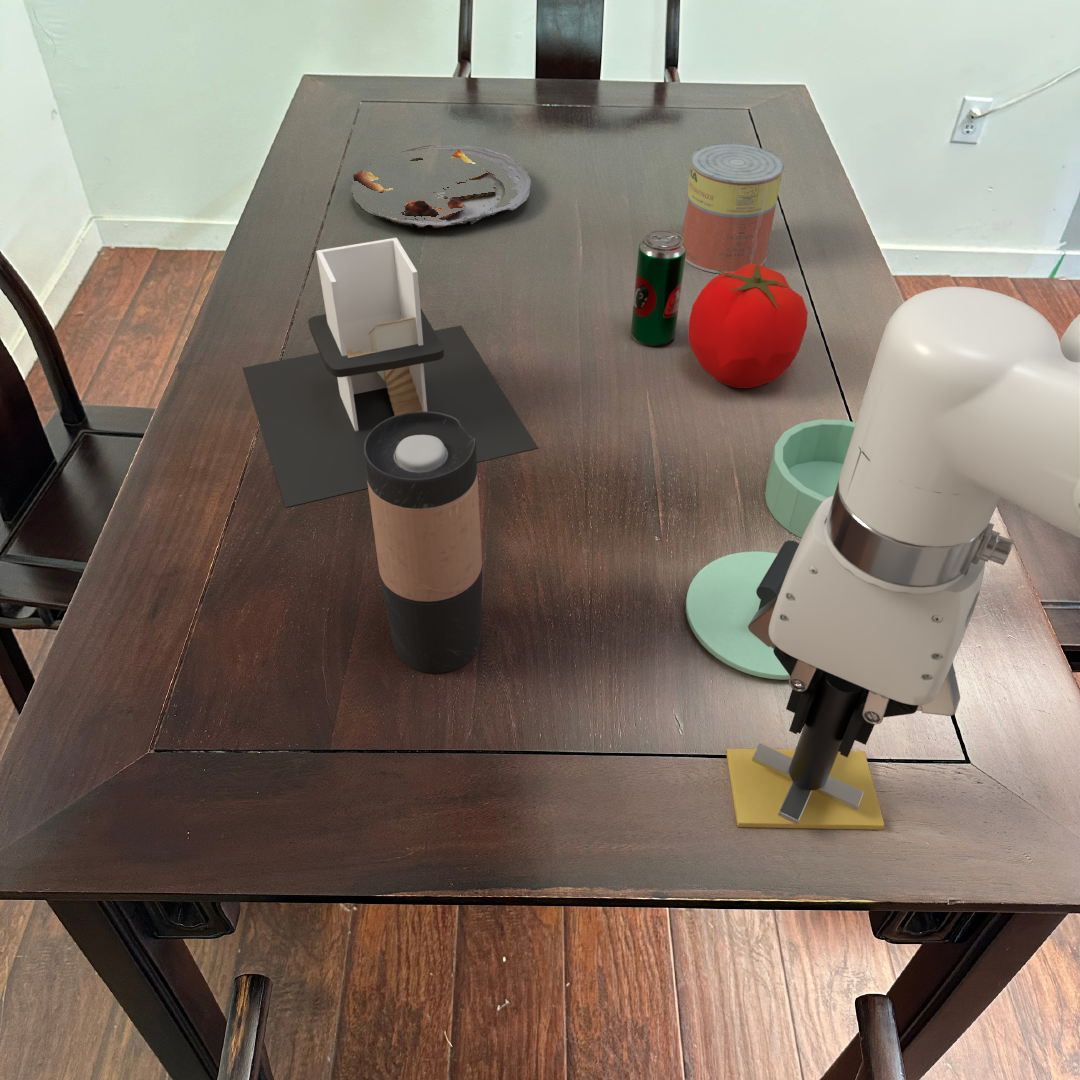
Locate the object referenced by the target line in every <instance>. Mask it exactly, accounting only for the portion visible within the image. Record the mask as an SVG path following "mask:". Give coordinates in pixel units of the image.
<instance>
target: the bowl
mask: <svg viewBox="0 0 1080 1080" xmlns="http://www.w3.org/2000/svg"><path fill="white" fill-rule="evenodd" d="M855 424H856V421H851V420H846V419H832V418H831V419H826V418H824V419H823V418H820V419H813V420H809V421H804V422H801V423H797V424H796V425H794V426H792V427H790V428H789V429H786V430H785V431H783V433H782V434H781V435H780V437H779V438H778V440H777V441H776V443H775V444H774V446H773V447H774V448H773V452H772V456H771V460H770V464H769V468H768V472H767V476H766V480H765V489H764V499H765V503H766V506H767V508H768V511H769V512H770V513H771V516H773V518H774V520H776V522H778V523H779V524H780V525H781V526H782V527H783V528H784V529H786V531H788V532H790V533H792V534H793V535H794V536H796V537H798V538H800V539H802V537H803V534H804V532H805V530H806V528H807V526H808V524H809V523H810V521H811V519H812V517H813V515H814V514H815V512H816V510H817V509H818V507H819V506H820V504H821V503H822V502H823V501H824V500H825V499H827V498H829V497H831V496H834V493H835V490H836V487H837V483H838V480H839V477H840V474H841V471H842V467H843V464H844V460H845V457H846V454H847V451H848V448H849V445H850V441H851V438H852V434H853V431H854V427H855Z"/></svg>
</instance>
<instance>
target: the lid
mask: <svg viewBox="0 0 1080 1080" xmlns="http://www.w3.org/2000/svg"><path fill="white" fill-rule="evenodd" d="M799 543H800V542H797V541H796V540H786V541H784V543H783V544H782V545H781V547H780V549H779V551H778V552H777V553H776V552H769V551H758V550H757V551H755V550H754V551H742V552H736V553H731V554H727V555H724V556H721V557H719V558H716V559H714V560H712V561H710V563H708V564H707V565H705V566H703V568H701V569H700V570H699V571H698V572H697V574H696V575H695V576H694V577H693V579H692V580H691V583H690V584H689V587H688V589H687V592H686V599H685V614H686V619H687V622H688V624H689V628H690V629H691V631H692V633H693V634H694V636H695V638H696V639H697V640H698V642H699V643H700V644H701V646H703V647H704V648H705V649H706V650H707V652H708V653H710V654H711V655H713V656H714V657H715V658H716V659H717V660H719V661H720V662H722V663H723V664H725V665H727V666H729V667H731V668H733V669H735V670H737V671H740V672H742V673H744V674H748V675H752V676H755V677H758V678H765V679H770V680H783V681H784V680H789V679H790V675H789V674H788V672H787V671H786V670H785V668H784V667H783V666H782V664H781V663H780V661H779V660H778V659H777V657H776V656H775V654H774V651H773V650H774V649H773V648H772V647H768V646H767V645H766V644H764V643H763V642H762V641H761V640H760V639H758V638H757V637H756V636H755V635H754V634H752V633H751V632H750V631H749V629H748V625H749V624H750V622H751V620H752V618H753V617H754V615H755V613H756V612H757V611H758V610H760V609H761V608H762V607H764V606H765V605H766V604H768V603H769V602H770V601H772V600H773V599H774V598H776V597H777V596H778V595H779V593H780V590H781V587H782V585H783V582H784V579H785V577H786V574H787V572H788V569H789V567H790V564H791V562H792V559H793V557H794V555H795V552H796V550H797V548H798V546H799Z"/></svg>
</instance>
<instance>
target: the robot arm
mask: <svg viewBox="0 0 1080 1080" xmlns="http://www.w3.org/2000/svg"><path fill="white" fill-rule="evenodd" d="M875 355H876V356H875V357H874V358H875V359H874V361H873V365H872V368H871V372H870V374H869V378H868V383H867V384H866V387H865V388H866V389H865V392H864V394H863V398H862V400H861V405H860V408H859V410H858V415H857V418H856V421H855V422H856V424H855V427H854V431H853V434H852V438H851V441H850V445H849V448H848V451H847V454H846V457H845V460H844V464H843V467H842V471H841V474H840V477H839V480H838V483H837V487H836V490H835V493H834V496H831V497H829V498H827V499H825V500H824V501H823V502H822V503H821V504H820V506H819V507H818V509H817V510H816V512H815V514H814V515H813V517H812V519H811V521H810V523H809V524H808V526H807V528H806V530H805V532H804V534H803V537H802V538H800V541H799V542H798V543H799V546H798V548H797V550H796V552H795V555H794V557H793V559H792V562H791V564H790V567H789V569H788V572H787V574H786V577H785V579H784V582H783V585H782V587H781V590H780V593H779V595H778V596H777V597H776V598H774V599H773V600H772V601H770V602H769V603H768V604H766V605H765V606H764V607H762V608H761V609H760V610H758V611H757V612H756V613H755V615H754V617H753V618H752V620H751V622H750V624H749V625H748V629H749V631H750V632H751V633H752V634H754V635H755V636H756V637H757V638H758V639H760V640H761V641H762V642H763V643H764V644H766V645H767V646H768V647H772V648H773V649H774V650H773V651H774V654H775V656H776V657H777V659H778V660H779V661H780V663H781V664H782V666H783V667H784V668H785V670H786V671H787V672H788V674H789V675H790V679H788V686H789V687H790V688H791V692H790V695H789V697H788V701H787V705H786V707H785V710H786V711H789V712H790V713H793V718H792V720H791V723H790V727H789V729H788V731H789V732H790V733H792V734H795V735H798V734H801V733H802V730H803V727H804V725H805V723H806V720H807V717H808V714H809V711H810V709H811V706H812V703H813V700H814V697H815V694H816V692H817V689H818V685H819V682H820V679H821V677H822V674H823V671H826V672H828V673H831V674H833V675H835V676H838V677H840V678H842V679H845V680H847V681H849V682H852V683H854V684H856V685H859V686H861V687H863V688H865V689H864V691H863V693H862V696H861V698H860V701H859V703H858V704H857V705H856V708H855V710H854V712H853V715H852V717H851V719H850V722H849V724H848V727H847V729H846V732H845V734H844V737H843V739H842V741H841V744H840V746H839V749H838V751H839V752H841V753H840V754H841V755H843V756H845V757H847V758H848V755H849V753H850V751H852V748H853V746H854V743H855V741H856V742H858V743H860V744H863V745H865V746H867V743H868V741H869V738H870V737H871V733H872V732H873V731H874V730H873V729H874V728H875V725H880V724H881V723H882V722H883V720H884V718H890V717H891V718H892V717H899V716H906V715H913V714H915V713H916V712H917V711H918V712H921V714H928V715H937V716H945V717H952V716H954V715H955V714H956V712H957V710H958V707H959V704H960V701H961V693H960V689H959V685H958V684H959V683H958V679H957V675H956V671H955V666H954V660H955V657H956V655H957V653H958V651H959V648H960V646H961V644H962V641H963V640H964V636H965V634H966V631H967V629H968V626H969V625H970V624H969V623H970V621H971V618H972V616H973V613H974V611H975V608H976V605H977V602H978V599H979V596H980V593H981V588H982V584H983V579H984V574H985V568H986V563H988V562H989V561H990V562H993V563H996V564H997V565H998V564H999V565H1001V566H1004V565H1005V564H1006V562H1007V559H1008V558H1009V555H1010V553H1011V550H1012V548H1013V546H1014V543H1015V540H1012V539H1010V538H1007V537H1004V536H1001V535H1000V534H1001V533H1000V532H999V531H995V530H993V529H994V526H995V524H994V523H991V519H992V517H993V516H994V513H995V510H996V509H997V507H998V504H999V503H1000V501H1001V499H1002V500H1005V501H1007V502H1009V503H1011V504H1012V505H1015V506H1016V507H1019V508H1020V509H1022V510H1024V511H1026V512H1028V513H1030V514H1032V515H1033V516H1035V517H1036V518H1039V519H1040V520H1043V521H1044V522H1047V523H1048V524H1051V525H1052V526H1054V527H1056V528H1057V529H1060V530H1062V531H1064V532H1067V533H1068V534H1070V535H1072V536H1075V537H1076V538H1079V539H1080V313H1079V314H1077V316H1076V317H1075V318H1074V319H1073V320H1072V321H1071V323H1070V324H1069V326H1067V329H1066V330H1065V332H1064V333H1063V335H1062V336H1061V338H1059V336H1058V334H1057V331H1056V329H1055V328H1054V326H1053V325H1052V324H1051V323H1050V322H1049V320H1047V318H1046V317H1045V316H1044V315H1043V314H1042V313H1040V312H1039V311H1038V310H1036V309H1035V308H1033V307H1032V306H1031V305H1029V304H1027V303H1025V302H1023V301H1021V300H1019V299H1018V298H1015V297H1012V296H1009V295H1008V294H1004V293H1000V292H998V291H993V290H989V289H984V288H978V287H973V286H943V287H937V288H933V289H928V290H926V291H922V292H919V293H917V294H915V295H913V296H911V297H910V298H908V299H907V300H905V301H904V302H902V304H901V305H900V306H899V307H898V308H897V309H896V310H895V311H894V312H893V313H892V314H891V316H890V317H889V320H888V321H887V323H886V326H885V329H884V331H883V334H882V336H881V340H880V342H879V345H878V349H877V351H876V354H875Z"/></svg>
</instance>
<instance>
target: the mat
mask: <svg viewBox="0 0 1080 1080" xmlns="http://www.w3.org/2000/svg"><path fill="white" fill-rule="evenodd" d="M772 749H773V748H772ZM756 750H757V748H727V749H726V761H727V767H728V774H729V779H730V787H731V793H732V799H733V807H734V813H735V821H736V827H737V828H767V829H768V828H770V829H771V828H772V829H773V828H774V829H775V828H776V829H777V828H778V829H826V830H829V829H830V830H831V829H832V830H875V831H876V830H878V831H879V830H883V829H884V828H885V822H884V817H883V814H882V811H881V806H880V803H879V799H878V795H877V792H876V788H875V783H874V781H873V777H872V773H871V770H870V766H869V762H868V759H867V754H866V752H865V751H864V750H851V751H850V753H849V755H848V758H847V757H845V756H843V755H841V754H840V753H841V752H838V754H837V757H836V759H835V762H834V764H833V767H832V769H831V772H830V774H829V776H831V777H833V778H835V779H838V780H840V781H842V782H844V783H846V784H848V785H850V786H853V787H855V788H857V789H859V790H861V791H863V792H864V794H863V797H862V799H861V802H860V804H859V807H858V809H857V810H854V809H852V808H850V807H847V806H845V805H843V804H841V803H839V802H837V801H835V800H833V799H831V798H829V797H826V796H824V795H822V794H820V793H818V792H816V791H814V790H813V791H812V793H811V795H810V797H809V800H808V802H807V804H806V806H805V809H804V811H803V813H802V815H801V818H800V820H799V822H798V824H795V823H793V822H791V821H789V820H786V819H784V818H782V817H780V816H778V813H779V810H780V808H781V806H782V804H783V802H784V799H785V797H786V795H787V793H788V791H789V789H790V786H791V784H792V782H793V780H791V779H789V778H786V777H784V776H782V775H780V774H778V773H776V772H774V771H772V770H770V769H768V768H765V767H763V766H761V765H759V764H757V763H755V762H753V761H752V758H753V756H754V754H755V752H756ZM773 750H775V751H778V752H780V753H782V754H784V755H786V756H788V757H790V758H793V756H794V753H795V750H796V749H776V748H775V749H773Z"/></svg>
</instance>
